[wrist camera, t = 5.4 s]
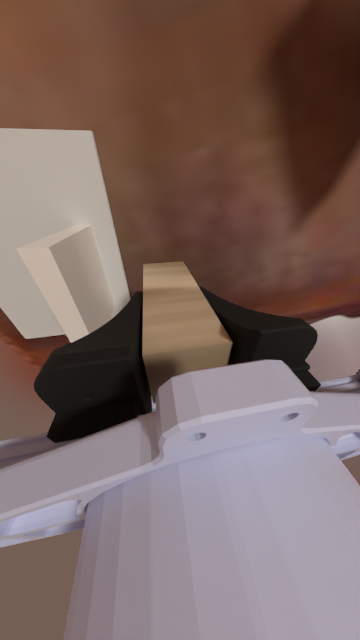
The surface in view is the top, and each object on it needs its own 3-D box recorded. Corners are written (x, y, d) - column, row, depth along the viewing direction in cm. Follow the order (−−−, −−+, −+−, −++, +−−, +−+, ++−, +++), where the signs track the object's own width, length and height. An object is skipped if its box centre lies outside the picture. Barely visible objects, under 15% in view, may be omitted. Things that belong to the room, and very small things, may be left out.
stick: (183, 296, 14) (221, 391, 7) (148, 299, 14) (153, 403, 7) (182, 261, 13) (233, 342, 6) (143, 264, 12) (142, 355, 5)
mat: (136, 324, 22) (136, 325, 21) (27, 336, 20) (25, 339, 20) (92, 132, 11) (91, 131, 11) (-137, 126, 10) (-146, 124, 9)
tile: (115, 304, 19) (100, 357, 13) (100, 305, 19) (78, 360, 12) (91, 225, 14) (48, 247, 8) (71, 225, 14) (11, 249, 8)
